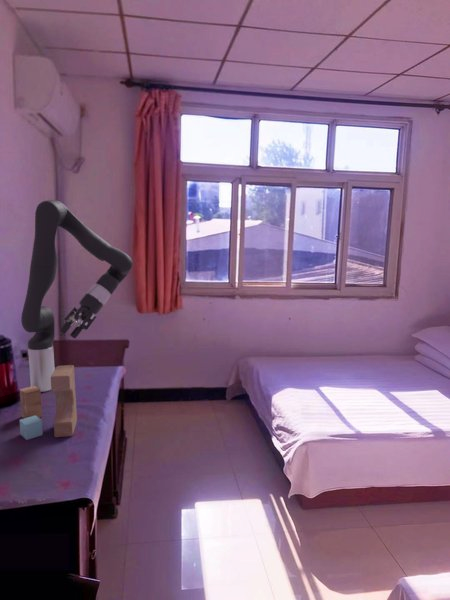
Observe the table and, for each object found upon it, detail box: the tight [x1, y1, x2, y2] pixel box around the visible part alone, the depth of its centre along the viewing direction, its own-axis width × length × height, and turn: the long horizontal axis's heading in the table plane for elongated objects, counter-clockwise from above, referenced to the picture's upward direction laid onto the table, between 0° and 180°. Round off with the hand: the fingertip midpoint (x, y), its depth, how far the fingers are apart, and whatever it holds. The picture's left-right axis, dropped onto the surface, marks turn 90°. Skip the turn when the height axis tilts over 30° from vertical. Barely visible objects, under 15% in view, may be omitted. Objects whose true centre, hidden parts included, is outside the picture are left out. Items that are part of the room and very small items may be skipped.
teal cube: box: [19, 415, 44, 441], centre depth 140 cm, size 5×5×5 cm
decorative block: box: [50, 364, 78, 438], centre depth 142 cm, size 11×6×20 cm, turn 10°
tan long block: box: [19, 385, 43, 419], centre depth 152 cm, size 5×5×10 cm
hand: (66, 334), depth 156 cm, fingers open, 8 cm apart
